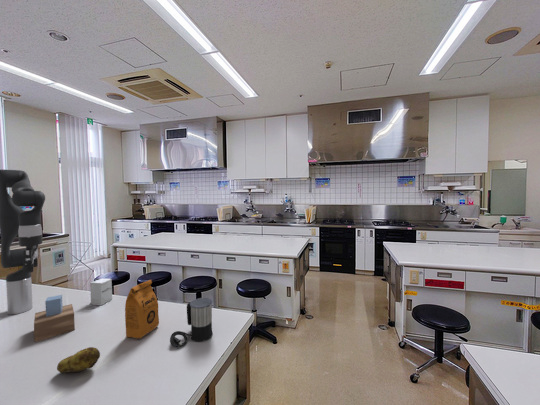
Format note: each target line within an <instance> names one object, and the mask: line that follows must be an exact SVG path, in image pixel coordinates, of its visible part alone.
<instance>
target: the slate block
mask: <svg viewBox="0 0 540 405" xmlns="http://www.w3.org/2000/svg"><path fill="white" fill-rule="evenodd" d="M44 303H45V311H46V317H48V316H52V315H57V314H61V312H62V310H63V306H64V305H63V294H58V295H53V296H48V297H47V298H46V299H45V302H44Z"/></svg>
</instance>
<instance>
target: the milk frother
mask: <svg viewBox="0 0 540 405" xmlns="http://www.w3.org/2000/svg"><path fill="white" fill-rule="evenodd" d="M212 306H213V300H212V299H211V298H209V297H199V298H196V299H193V300H192V301H190V302H188V303H187V304H186V320H187V325H188V326H191V328H190V329H191V330H190V331H191V332H190V334H189V333H187V332H184V331H180V330H176V331H174V332H172V333H171V335H170V337H169V343H170V345H171V346H172V347H174V348H181V347H184V346H185V345H186V344H187V343H188V340H189V339H188V336H190V340H191V341H193V342H195V343H201V342H206V341H208V340H209V339H211V338H212V337H213V335H214V334H213V326H212V325H213V322H212V320H213V317H212V316H213V307H212ZM176 336H182V337H183V338H184V340H183V342H182V340H181V339H179V338H178V337H176ZM181 342H182V343H181Z"/></svg>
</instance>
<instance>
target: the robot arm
mask: <svg viewBox="0 0 540 405" xmlns="http://www.w3.org/2000/svg"><path fill="white" fill-rule="evenodd" d="M31 185H32V184H31V182H30V178H29V175H28V174H27V172H26V171H24V170H20V169H19V170H18V169H0V240H1V242H0V244H1V245H0V248H1V249H0V264H1V267H2V268H3V269H10V268H16V267H21V268H20V269H18V270H16V271H14V272H11V273H9V274H7V275H6V277H5V281H6V282H5V283H6V284H5V285H6V301H7V302H6V304H7V305H6V306H7V314H8V315H18V314H22V313H25V312H28V311H30V310H32V309H33V288H32V273H33V272H34V268H36V267H38V263H39V262H38V258H39V256H40V254H39V245H42V244H43V227H42V219H41V218H42V217H41V216H42V212H43V207H44V204H45V201H46V195H45V194H44V192H42V191H41V190H35V189H34V188H33V186H31ZM8 188H9V189H10V188H11V192H12V195H10V194H9V191H8ZM23 207H33V208H32V209H31V210H28V211H25V210H24V209H23ZM17 236H18V247H21V248H15V249H11V246H12V243H13V242H14V240H15V239H16V238H17ZM23 247H25V248H23Z"/></svg>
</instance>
